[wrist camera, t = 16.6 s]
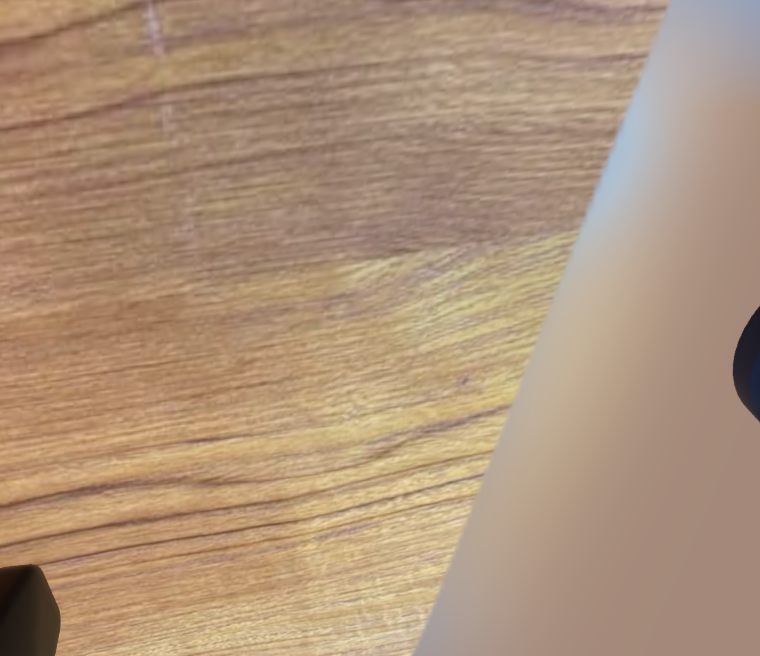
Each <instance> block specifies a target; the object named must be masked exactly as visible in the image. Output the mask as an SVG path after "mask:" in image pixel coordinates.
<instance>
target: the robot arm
mask: <svg viewBox="0 0 760 656" xmlns="http://www.w3.org/2000/svg"><path fill="white" fill-rule="evenodd" d="M60 624H61V619H60V611H59V608H58V605H57V603H56V601H55V598H54V596H53V594H52V592H51V589H50V587H49V585H48V582H47V580H46V578H45V576H44V573H43V571H42V570H41V568H39V567H38V566H37V565H33V564H29V565H19V566H9V567H3V568H0V656H55V653H56V648H57V643H58V638H59V633H60Z"/></svg>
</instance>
